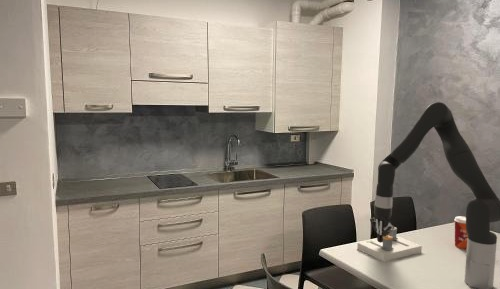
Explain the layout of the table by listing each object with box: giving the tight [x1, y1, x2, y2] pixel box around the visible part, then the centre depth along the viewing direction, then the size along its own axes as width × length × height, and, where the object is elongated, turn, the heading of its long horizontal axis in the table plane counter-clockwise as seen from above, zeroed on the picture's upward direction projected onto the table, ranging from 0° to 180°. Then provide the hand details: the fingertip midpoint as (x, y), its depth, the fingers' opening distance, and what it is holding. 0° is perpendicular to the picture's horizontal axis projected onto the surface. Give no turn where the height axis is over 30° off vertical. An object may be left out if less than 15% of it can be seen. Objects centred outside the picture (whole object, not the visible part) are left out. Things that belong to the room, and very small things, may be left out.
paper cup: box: [454, 215, 468, 250], centre depth 176 cm, size 8×8×14 cm
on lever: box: [387, 226, 398, 240], centre depth 177 cm, size 4×3×6 cm
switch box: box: [357, 235, 423, 262], centre depth 171 cm, size 24×16×3 cm, turn 117°
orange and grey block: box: [381, 234, 394, 251], centre depth 164 cm, size 4×3×6 cm
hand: (380, 241), depth 168 cm, fingers closed
